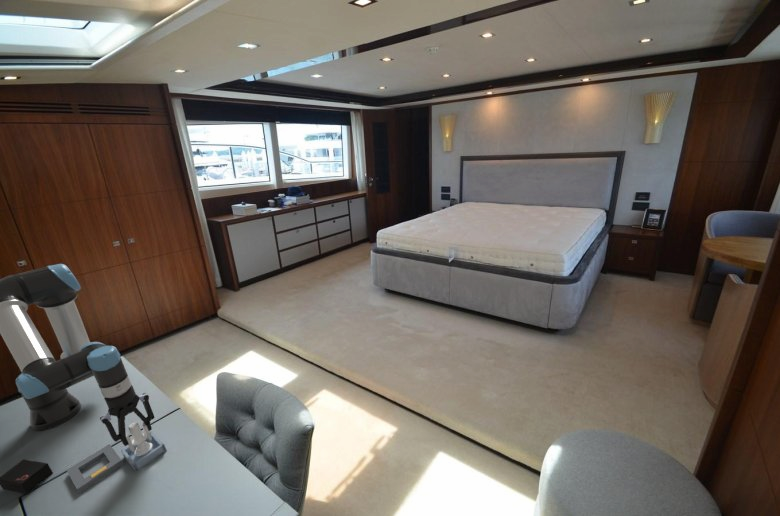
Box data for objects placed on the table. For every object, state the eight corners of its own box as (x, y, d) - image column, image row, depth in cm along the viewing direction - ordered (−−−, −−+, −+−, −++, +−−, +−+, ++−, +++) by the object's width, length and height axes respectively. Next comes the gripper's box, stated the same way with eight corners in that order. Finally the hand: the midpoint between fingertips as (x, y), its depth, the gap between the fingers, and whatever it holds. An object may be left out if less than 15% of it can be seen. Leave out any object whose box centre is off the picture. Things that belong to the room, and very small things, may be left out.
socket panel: (68, 474, 114) (66, 469, 113) (111, 448, 123) (109, 443, 122) (79, 493, 107) (76, 488, 106) (123, 464, 116) (121, 459, 115)
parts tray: (124, 456, 119) (121, 450, 118) (154, 437, 126) (151, 431, 125) (135, 472, 113) (132, 465, 112) (166, 450, 120) (164, 444, 119)
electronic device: (30, 469, 117) (23, 458, 115) (53, 473, 115) (47, 462, 113) (3, 490, 110) (-4, 479, 108) (28, 495, 108) (20, 484, 106)
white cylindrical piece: (136, 459, 115) (124, 432, 111) (132, 450, 119) (121, 424, 114) (154, 448, 119) (143, 422, 115) (150, 440, 122) (139, 415, 118)
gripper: (88, 413, 101) (115, 469, 109) (152, 378, 114) (172, 430, 122) (80, 403, 105) (107, 458, 113) (143, 371, 118) (163, 422, 126)
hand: (141, 443), depth 118 cm, fingers closed on white cylindrical piece, 4 cm apart
